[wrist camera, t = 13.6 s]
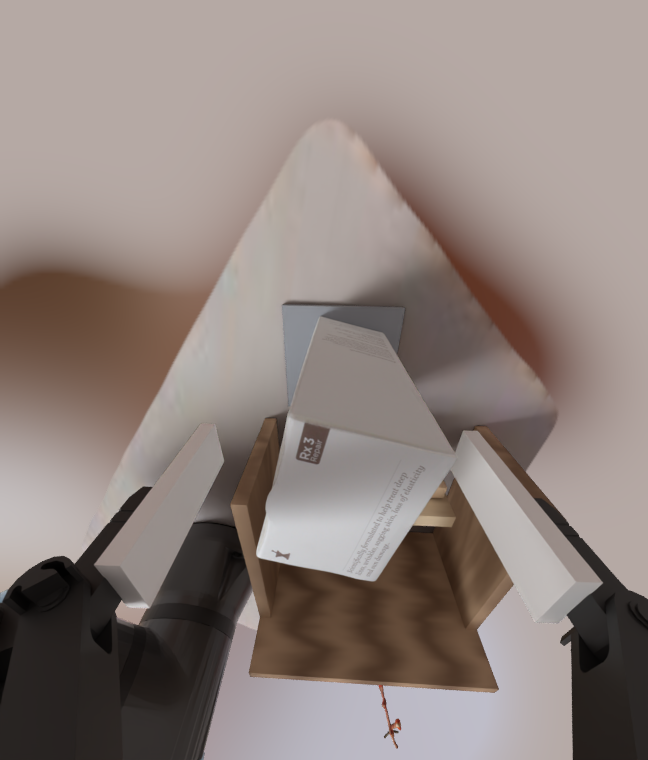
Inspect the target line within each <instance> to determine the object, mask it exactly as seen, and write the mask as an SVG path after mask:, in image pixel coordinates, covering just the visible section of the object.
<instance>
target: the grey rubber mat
mask: <svg viewBox="0 0 648 760" xmlns="http://www.w3.org/2000/svg"><path fill="white" fill-rule="evenodd" d="M404 313H405V308H404V307H379V306H339V305H298V304H283V305H282V314H283V330H284V345H285V360H286V376H287V391H288V406H291V403H292V399H293V396H294V392H295V389H296V386H297V383H298V379H299V376H300V373H301V369H302V366H303V363H304V360H305V357H306V354H307V351H308V348H309V345H310V342H311V339H312V336H313V333H314V330H315V327H316V324H317V321H318V319H319V317H320V316H321V317H325V318H329V319H333V320H336V321H340V322H344V323H348V324H351V325H355V326H359V327H363V328H367V329H370V330H374V331H378V332H382V333H384V334H385V336H386V338H387V339H388V341H389V343H390V344H391V346H392V348H393V349H394V351H395V352H396V354H397V353H398V347H399V342H400V336H401V330H402V324H403V318H404Z"/></svg>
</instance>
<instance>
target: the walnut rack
mask: <svg viewBox="0 0 648 760" xmlns="http://www.w3.org/2000/svg"><path fill="white" fill-rule="evenodd" d="M473 431H478V432H479V433H480V434H481V435H482V437H483V438H484V439H485V440H486V442H487V443H488V444H489V445H490V446H491V448H492V449H493V450H494V451H495V452H496V454H497V455H498V456H499V457H500V458H501V460H502V461H503V462H504V463H505V465H506V466H507V467H508V468H509V469H510V471H511V472H512V473H513V474H514V475H515V477H516V478H517V479H518V480H519V481H520V483H521V484H522V485H523V486H524V488H525V489H526V490H527V491H528V492H529V494H530V495H531V496H532V497H533V498H542V499H543V500H545V501H546V502H547V503H548V504H550V505H551V506H552V507H554V508H555V509H556V507H555V506H554V505H553V504H552V503H551V502H550V500H549V499H548V498H547V497H546V496H545V494H544V493H543V492H542V491H541V490H540V489H539V487H538V486H537V485H536V484H535V483H534V481H533V480H532V479H531V478H530V477H529V476H528V474H527V473H526V472H525V471H524V470H523V469H522V467H521V466H520V465H519V464H518V463H517V461H516V460H515V459H514V458H513V457H512V456H511V454H510V453H509V452H508V451H507V450H506V449H505V447H504V446H503V445H502V444H501V443H500V441H499V440H498V439H497V438H496V437H495V436H494V434H493V433H492V432H491V431H490V430H489V429H488V427H487V426H475V428H474V430H473ZM279 453H280V451H279V440H278V430H277V420H276V419H272V418H265V420H264V423H263V425H262V428H261V430H260V432H259V435H258V437H257V440H256V442H255V445H254V447H253V450H252V452H251V454H250V457H249V459H248V462H247V464H246V467H245V469H244V472H243V474H242V477H241V479H240V481H239V484H238V486H237V489H236V491H235V494H234V496H233V499H232V501H231V504H230V506H231V510H232V513H233V517H234V521H235V525H236V528H237V532H238V536H239V540H240V543H241V547H242V551H243V555H244V558H245V562H246V566H247V570H248V573H249V577H250V581H251V585H252V588H253V592H254V596H255V600H256V603H257V607H258V611H259V615H260V620H259V625H258V630H257V635H256V640H255V645H254V650H253V655H252V660H251V665H250V669H249V674H250V677H264V678H278V679H293V680H294V679H295V680H309V681H324V682H340V683H355V684H370V685H384V686H400V687H401V686H402V687H415V688H431V689H445V690H461V691H476V692H491V693H495V692H496V691H497V690H499V688H498V686H497V683H496V680H495V678H494V675H493V672H492V670H491V667H490V664H489V661H488V659H487V656H486V653H485V651H484V648H483V645H482V643H481V640H480V637H479V635H478V632H477V629H478V628H479V626H480V625H481V624H482V623H483V621H484V620H485V619H486V618H487V617H488V615H489V614H490V613H491V611H492V610H493V609H494V608H495V607H496V606H497V604H498V603H499V602H500V601H501V599H502V598H503V597H504V596H505V595H506V593H507V592H508V591H509V590H510V589H511V587H512V586H513V585H514V583H513V582H512V580H511V578H510V576H509V574H508V573H507V571H506V569H505V567H504V565H503V564H502V562H501V560H500V558H499V556H498V555H497V553H496V551H495V549H494V547H493V546H492V544H491V542H490V540H489V538H488V536H487V535H486V533H485V531H484V529H483V527H482V526H481V524H480V522H479V520H478V518H477V517H476V515H475V513H474V511H473V509H472V508H471V506H470V504H469V502H468V500H467V499H466V497H465V495H464V493H463V491H462V489H461V488H460V486H459V484H458V482H457V480H456V479H455V478H454V480H453V483H452V485H451V488H450V490H449V493H448V495H447V498H448V501H449V503H450V505H451V507H452V510H453V512H454V514H455V516H456V518H455V521H454V523H453V525H452V527H439V526H435V528H434V531H433V533H420V532H408V533H407V535H406V536H405V538H404V539H403V540H402V542H401V544H400V545H399V547H398V548H397V550H396V551H395V553H394V554H393V556H392V557H391V559H390V560H389V562H388V563H387V565H386V566H385V568H384V569H383V571H382V573H381V574H380V575H379V577H378V578H377V580H376V581H367V580H360V579H355V578H352V577H348V576H344V575H340V574H336V573H331V572H327V571H321V570H316V569H310V568H304V567H299V566H294V565H289V564H285V563H280V562H275V561H271V560H266V559H261V558H259V557H257V555H256V550H257V546H258V542H259V538H260V535H261V531H262V528H263V524H264V520H265V517H266V500H267V497H268V495H269V493H270V491H271V490H272V486H273V481H274V477H275V472H276V467H277V462H278V458H279ZM556 510H557V509H556ZM557 511H558V510H557ZM558 512H559V511H558ZM559 513H560V512H559ZM560 514H561V513H560ZM563 518H564V517H563ZM564 519H565V518H564ZM565 520H566V519H565Z"/></svg>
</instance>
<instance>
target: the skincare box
mask: <svg viewBox="0 0 648 760" xmlns="http://www.w3.org/2000/svg"><path fill="white" fill-rule="evenodd" d="M457 459H458V457H457V455H456V454H455V452H454V451H453V449H452V447H451V446H450V444H449V442H448V441H447V439H446V437H445V435H444V434H443V432H442V430H441V429H440V427H439V425H438V423H437V422H436V420H435V418H434V417H433V415H432V413H431V412H430V410H429V409H428V407H427V405H426V404H425V402H424V400H423V398H422V397H421V395H420V394H419V392H418V390H417V388H416V386H415V385H414V383H413V381H412V380H411V378H410V376H409V375H408V373H407V371H406V370H405V368H404V366H403V365H402V363H401V361H400V359H399V358H398V356H397V354H396V352H395V351H394V349H393V348H392V346H391V344H390V343H389V341H388V339H387V338H386V336H385V334H384V333H382V332H378V331H374V330H370V329H367V328H363V327H359V326H355V325H351V324H348V323H344V322H340V321H336V320H333V319H329V318H325V317H321V316H320V317H319V319H318V321H317V324H316V327H315V330H314V333H313V336H312V339H311V342H310V345H309V348H308V351H307V354H306V357H305V360H304V363H303V366H302V369H301V373H300V376H299V379H298V383H297V386H296V389H295V392H294V396H293V399H292V403H291V406H290V409H289V412H288V415H287V419H286V425H285V430H284V435H283V440H282V445H281V449H280V453H279V458H278V462H277V467H276V472H275V477H274V481H273V486H272V490H271V491H270V493H269V495H268V497H267V500H266V517H265V520H264V524H263V528H262V531H261V535H260V538H259V542H258V546H257V550H256V555H257V557H259V558H261V559H266V560H271V561H275V562H280V563H285V564H289V565H294V566H299V567H304V568H310V569H316V570H321V571H327V572H331V573H336V574H340V575H344V576H348V577H352V578H355V579H360V580H367V581H376V580H377V578H378V577H379V575H380V574H381V573H382V571H383V569H384V568H385V566H386V565H387V563H388V562H389V560H390V559H391V557H392V556H393V554H394V553H395V551H396V550H397V548H398V547H399V545H400V544H401V542H402V540H403V539H404V538H405V536H406V535H407V533H408V532H409V530H410V529H411V527H412V526H413V524H414V523H415V521H416V520H417V518H418V517H419V515H420V514H421V512H422V511H423V509H424V508H425V506H426V505H427V503H428V502H429V500H430V499H431V497H432V496H433V494H434V493H435V491H436V490H437V488H438V487H439V485H440V484H441V482H442V481H443V480H444V478H445V477H446V475H447V474H448V472H449V471H450V469H451V468H452V467H453V465H454V463H455V462H456V460H457Z"/></svg>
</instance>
